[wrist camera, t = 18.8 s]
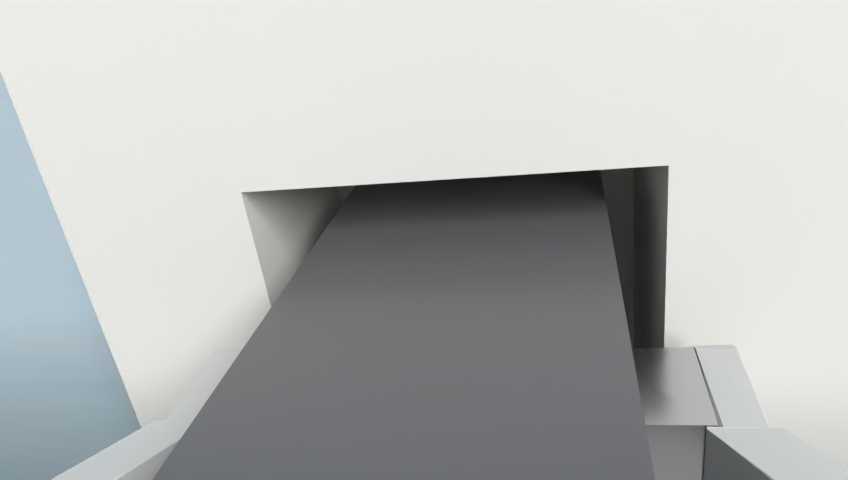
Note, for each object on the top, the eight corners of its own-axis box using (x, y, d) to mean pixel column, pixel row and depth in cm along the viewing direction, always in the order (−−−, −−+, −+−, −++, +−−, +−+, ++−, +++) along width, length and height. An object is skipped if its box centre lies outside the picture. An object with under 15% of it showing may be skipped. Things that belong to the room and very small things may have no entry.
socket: (184, -44, 14) (-33, -11, 9) (807, -134, 12) (1015, -161, 7) (328, 508, 21) (253, 712, 16) (742, 524, 19) (818, 773, 13)
